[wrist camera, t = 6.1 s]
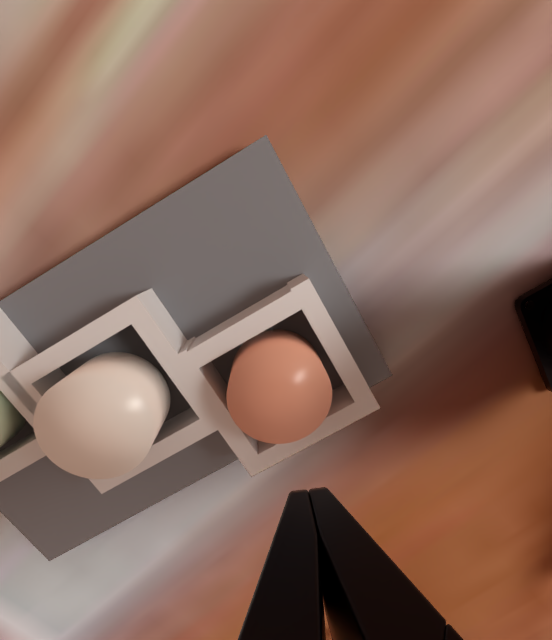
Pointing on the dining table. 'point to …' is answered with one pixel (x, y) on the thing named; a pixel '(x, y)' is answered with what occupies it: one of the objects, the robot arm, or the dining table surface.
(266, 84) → the dining table surface
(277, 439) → the terracotta button
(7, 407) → the sage button
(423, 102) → the dining table surface
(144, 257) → the button panel
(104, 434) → the white button
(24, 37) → the dining table surface
